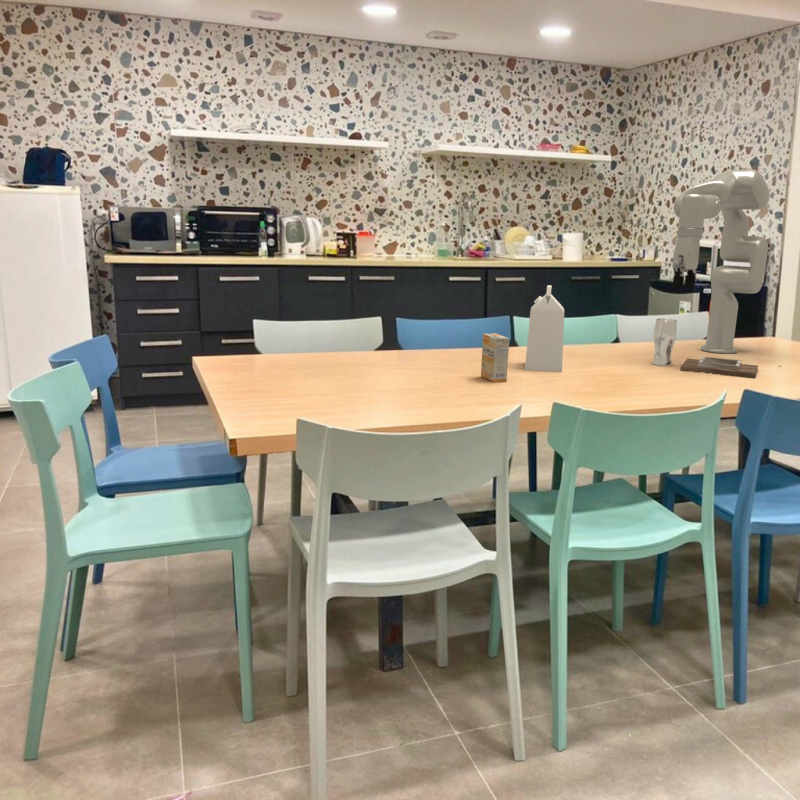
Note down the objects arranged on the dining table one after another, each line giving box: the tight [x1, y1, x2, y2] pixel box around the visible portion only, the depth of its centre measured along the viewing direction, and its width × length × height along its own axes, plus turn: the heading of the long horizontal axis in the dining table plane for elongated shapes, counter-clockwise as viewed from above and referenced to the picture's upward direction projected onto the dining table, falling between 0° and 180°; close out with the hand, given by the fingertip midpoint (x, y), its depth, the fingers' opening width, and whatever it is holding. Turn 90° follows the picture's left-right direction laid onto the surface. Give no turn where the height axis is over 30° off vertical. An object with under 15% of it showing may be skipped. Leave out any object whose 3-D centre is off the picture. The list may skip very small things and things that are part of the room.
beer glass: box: [652, 318, 678, 367], centre depth 253 cm, size 7×7×15 cm
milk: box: [524, 284, 565, 373], centre depth 241 cm, size 12×12×26 cm
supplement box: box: [480, 332, 510, 383], centre depth 222 cm, size 8×5×13 cm, turn 21°
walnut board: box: [679, 356, 759, 379], centre depth 247 cm, size 16×22×3 cm
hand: (683, 288), depth 246 cm, fingers open, 9 cm apart
